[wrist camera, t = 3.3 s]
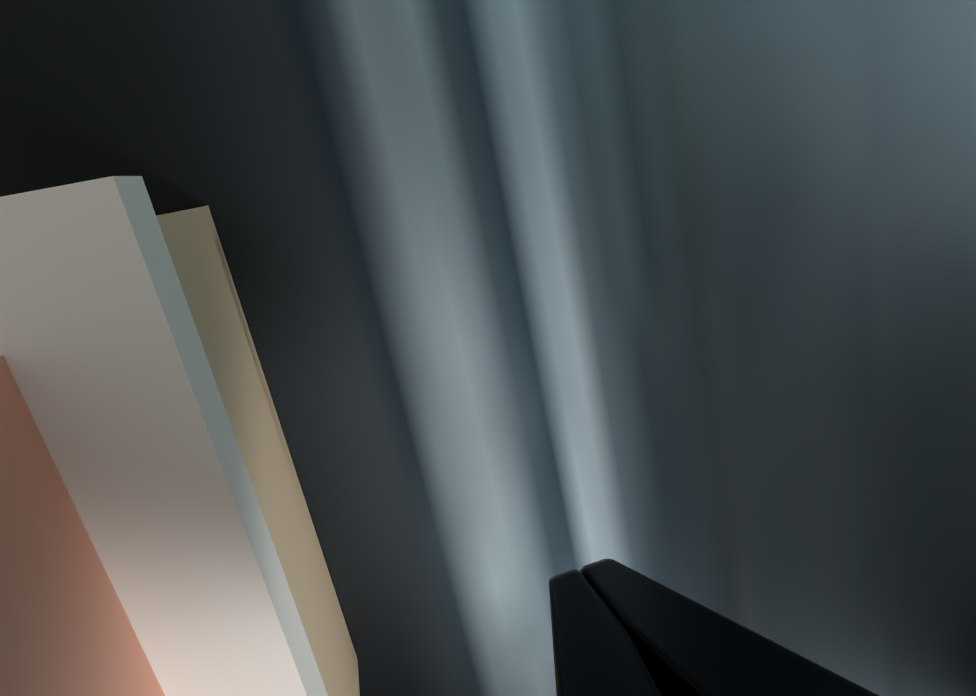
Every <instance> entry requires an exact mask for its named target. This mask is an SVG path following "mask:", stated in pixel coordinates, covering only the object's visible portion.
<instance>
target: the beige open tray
mask: <svg viewBox="0 0 976 696" xmlns="http://www.w3.org/2000/svg"><path fill="white" fill-rule="evenodd" d="M156 217H157V220H158V223H159V225H160V228H161V231H162V234H163V237H164V239H165V242H166V245H167V248H168V251H169V253H170V256H171V259H172V262H173V264H174V267H175V270H176V273H177V276H178V278H179V281H180V284H181V287H182V290H183V292H184V295H185V298H186V301H187V304H188V306H189V309H190V312H191V315H192V317H193V320H194V323H195V326H196V329H197V331H198V334H199V337H200V340H201V343H202V345H203V348H204V351H205V354H206V357H207V359H208V362H209V365H210V368H211V370H212V373H213V376H214V379H215V382H216V384H217V387H218V390H219V393H220V396H221V398H222V401H223V404H224V407H225V410H226V412H227V415H228V418H229V421H230V423H231V426H232V429H233V432H234V435H235V437H236V440H237V443H238V446H239V449H240V451H241V454H242V457H243V460H244V463H245V465H246V468H247V471H248V474H249V476H250V479H251V482H252V485H253V488H254V490H255V493H256V496H257V499H258V502H259V504H260V507H261V510H262V513H263V516H264V518H265V521H266V524H267V527H268V529H269V532H270V535H271V538H272V541H273V543H274V546H275V549H276V552H277V555H278V557H279V560H280V563H281V566H282V569H283V571H284V574H285V577H286V580H287V582H288V585H289V588H290V591H291V594H292V596H293V599H294V602H295V605H296V608H297V610H298V613H299V616H300V619H301V622H302V624H303V627H304V630H305V633H306V635H307V638H308V641H309V644H310V647H311V649H312V652H313V655H314V658H315V661H316V663H317V666H318V669H319V672H320V675H321V677H322V680H323V683H324V686H325V688H326V691H327V694H328V696H360V692H359V676H358V659H357V656H356V653H355V650H354V647H353V644H352V641H351V638H350V635H349V632H348V629H347V626H346V623H345V620H344V617H343V614H342V610H341V607H340V604H339V601H338V598H337V595H336V592H335V589H334V586H333V583H332V580H331V577H330V574H329V571H328V568H327V565H326V562H325V559H324V556H323V553H322V550H321V547H320V544H319V541H318V538H317V534H316V531H315V528H314V525H313V522H312V519H311V516H310V513H309V510H308V507H307V504H306V501H305V498H304V495H303V492H302V489H301V486H300V483H299V480H298V477H297V474H296V471H295V468H294V465H293V462H292V458H291V455H290V452H289V449H288V446H287V443H286V440H285V437H284V434H283V431H282V428H281V425H280V422H279V419H278V416H277V413H276V410H275V407H274V404H273V401H272V398H271V395H270V392H269V389H268V386H267V382H266V379H265V376H264V373H263V370H262V367H261V364H260V361H259V358H258V355H257V352H256V349H255V346H254V343H253V340H252V337H251V334H250V331H249V328H248V325H247V322H246V319H245V316H244V313H243V310H242V306H241V303H240V300H239V297H238V294H237V291H236V288H235V285H234V282H233V279H232V276H231V273H230V270H229V267H228V264H227V261H226V258H225V255H224V252H223V249H222V246H221V243H220V240H219V237H218V234H217V230H216V227H215V224H214V221H213V218H212V215H211V212H210V209H209V206H208V205H207V206H202V207H197V208H192V209H187V210H182V211H177V212H172V213H167V214H162V215H157V216H156Z"/></svg>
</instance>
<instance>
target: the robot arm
mask: <svg viewBox="0 0 976 696" xmlns="http://www.w3.org/2000/svg"><path fill="white" fill-rule="evenodd" d="M549 592H550V606H551V621H552V635H553V650H554V664H555V679H556V693H557V696H879V695H877V694H875V693H873V692H871V691H869V690H867V689H865V688H863V687H861V686H859V685H857V684H855V683H853V682H851V681H849V680H847V679H845V678H843V677H841V676H840V675H838V674H836V673H834V672H832V671H830V670H828V669H826V668H824V667H822V666H820V665H818V664H816V663H814V662H812V661H810V660H808V659H806V658H804V657H802V656H800V655H798V654H796V653H795V652H793V651H791V650H789V649H787V648H785V647H783V646H781V645H779V644H777V643H775V642H773V641H771V640H769V639H767V638H765V637H763V636H761V635H759V634H757V633H755V632H753V631H752V630H750V629H748V628H746V627H744V626H742V625H740V624H738V623H736V622H734V621H732V620H730V619H728V618H726V617H724V616H722V615H720V614H718V613H716V612H714V611H712V610H710V609H708V608H707V607H705V606H703V605H701V604H699V603H697V602H695V601H693V600H691V599H689V598H687V597H685V596H683V595H681V594H679V593H677V592H675V591H673V590H671V589H669V588H667V587H665V586H664V585H662V584H660V583H658V582H656V581H654V580H652V579H650V578H648V577H646V576H644V575H642V574H640V573H638V572H636V571H634V570H632V569H630V568H628V567H626V566H624V565H622V564H620V563H619V562H617V561H615V560H612V559H603V560H600V561H597V562H594V563H591V564H588V565H585V566H583V567H582V569H581V570H580V571H579V570H576V569H574V570H571V571H568V572H565V573H562V574H559V575H556V576H553V577H551V578H550V580H549Z"/></svg>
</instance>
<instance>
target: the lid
mask: <svg viewBox="0 0 976 696" xmlns="http://www.w3.org/2000/svg"><path fill="white" fill-rule="evenodd" d="M0 696H328V694H327V691H326V688H325V686H324V683H323V680H322V677H321V675H320V672H319V669H318V666H317V663H316V661H315V658H314V655H313V652H312V649H311V647H310V644H309V641H308V638H307V635H306V633H305V630H304V627H303V624H302V622H301V619H300V616H299V613H298V610H297V608H296V605H295V602H294V599H293V596H292V594H291V591H290V588H289V585H288V582H287V580H286V577H285V574H284V571H283V569H282V566H281V563H280V560H279V557H278V555H277V552H276V549H275V546H274V543H273V541H272V538H271V535H270V532H269V529H268V527H267V524H266V521H265V518H264V516H263V513H262V510H261V507H260V504H259V502H258V499H257V496H256V493H255V490H254V488H253V485H252V482H251V479H250V476H249V474H248V471H247V468H246V465H245V463H244V460H243V457H242V454H241V451H240V449H239V446H238V443H237V440H236V437H235V435H234V432H233V429H232V426H231V423H230V421H229V418H228V415H227V412H226V410H225V407H224V404H223V401H222V398H221V396H220V393H219V390H218V387H217V384H216V382H215V379H214V376H213V373H212V370H211V368H210V365H209V362H208V359H207V357H206V354H205V351H204V348H203V345H202V343H201V340H200V337H199V334H198V331H197V329H196V326H195V323H194V320H193V317H192V315H191V312H190V309H189V306H188V304H187V301H186V298H185V295H184V292H183V290H182V287H181V284H180V281H179V278H178V276H177V273H176V270H175V267H174V264H173V262H172V259H171V256H170V253H169V251H168V248H167V245H166V242H165V239H164V237H163V234H162V231H161V228H160V225H159V223H158V220H157V217H156V214H155V211H154V209H153V206H152V203H151V200H150V198H149V195H148V192H147V189H146V186H145V184H144V181H143V178H142V176H111V177H105V178H100V179H94V180H89V181H83V182H78V183H73V184H67V185H62V186H56V187H51V188H45V189H40V190H35V191H29V192H24V193H18V194H13V195H7V196H2V197H0Z"/></svg>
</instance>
